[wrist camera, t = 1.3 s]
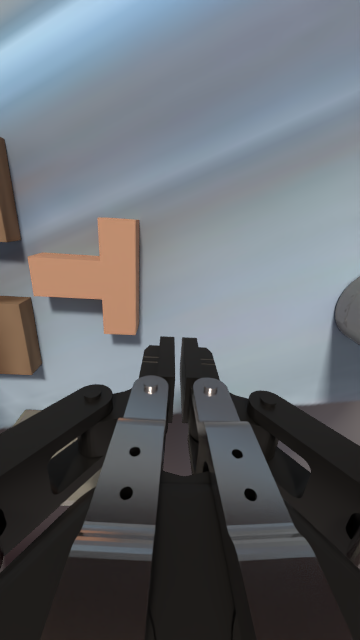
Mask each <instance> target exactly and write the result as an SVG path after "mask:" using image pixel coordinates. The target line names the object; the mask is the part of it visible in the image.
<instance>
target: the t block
mask: <svg viewBox="0 0 360 640" xmlns="http://www.w3.org/2000/svg"><path fill="white" fill-rule="evenodd" d="M98 233H99V251H100V256H88V255H72V254H56V253H39V254H36V255H32V256H28V262H29V268H30V274H31V280H32V287H33V293H34V296H46V297H65V298H84V299H102V305H103V323H104V334H123V335H136V332H137V329H138V326H139V220H132V219H118V218H98Z"/></svg>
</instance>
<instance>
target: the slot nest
mask: <svg viewBox="0 0 360 640" xmlns="http://www.w3.org/2000/svg"><path fill="white" fill-rule="evenodd" d="M18 240H21V236H20V231H19V225H18V219H17V213H16V207H15V201H14V195H13V189H12V183H11V177H10V171H9V165H8V159H7V153H6V147H5V141H4V139H3V138H1V137H0V242H11V241H18ZM41 364H42V361H41V355H40V349H39V343H38V337H37V331H36V325H35V320H34V314H33V308H32V302H31V297H13V296H0V374H19V375H32V374H33V373H34V372H35V371H36V370H37V369H38V368H39V366H40V365H41Z"/></svg>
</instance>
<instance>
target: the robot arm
mask: <svg viewBox="0 0 360 640" xmlns="http://www.w3.org/2000/svg"><path fill="white" fill-rule="evenodd" d="M335 320H336V324H337V326H338V328H339V330H340V331H341V332H342V333H343V334H344V335H345V336H347V337H348V338H350V339H351V340H353V341H354V342H356V343H357V344H359V345H360V277H358V278H357V279H356V280H354V281H353V282H352V283H351V284H350V285H349V286H348V287H347V288H346V289H345V290H344V292H343V293H342V295H341V296H340V298H339V300H338V303H337V306H336V310H335ZM174 386H175V346H174V337H162V336H160V346H154V345H149V346H148V347H147V348H146V349H145V350H144V355H143V360H142V365H141V370H140V375H139V379H137V380H136V381H135V382H134V384H133V387H132V388H131V389H130V390H127V391H125V392H120V393H115V394H112V391H111V389H110V388H108V387H107V386H104V385H98V384H95V385H89V386H85V387H83V388H81V389H79V390H77V391H76V392H74V393H72V394H70V395H68V396H67V397H65V398H63V399H61V400H60V401H58V402H56V403H54V404H52V405H51V406H49V407H47V408H45V409H44V410H42V411H40V412H38V413H36V414H35V415H33V416H31V417H29V418H28V419H26V420H24V421H22V422H20V423H19V424H17V425H15V426H13V427H12V428H10V429H8V430H6V431H5V432H3V433H1V434H0V569H1V567H2V564H3V558H4V556H5V555H6V554H7V553H9V552H10V551H11V550H12V549H13V548H14V547H15V546H16V545H17V544H18V543H20V542H21V541H22V540H23V539H24V538H25V537H26V536H27V535H28V534H30V533H31V532H32V531H33V530H34V529H35V528H36V527H37V526H38V525H39V524H40V523H41V522H43V521H44V520H45V519H46V518H47V517H48V516H49V515H50V514H51V513H53V512H54V511H55V510H56V509H57V508H58V507H59V506H60V505H61V504H62V503H64V502H65V501H66V500H67V499H68V498H69V497H70V496H71V495H72V494H73V493H74V492H76V491H77V490H78V489H79V488H80V487H81V486H82V485H83V484H84V483H85V482H87V481H88V480H89V479H90V478H91V477H92V476H93V475H94V474H95V473H96V472H98V471H99V470H100V469H101V468H102V469H101V472H100V476H99V479H98V482H97V485H96V487H94V488H93V489H91V490H89V491H88V492H86V493H85V494H84V495H82V496H81V497H80V498H79V499H77V500H76V501H75V502H74V503H73V504H72V505H71V506H70V507H69V508H68V509H67V510H66V511H65V512H64V513H63V514H62V515H61V516H59V517H58V518H57V519H56V520H55V521H54V522H53V523H52V524H51V525H50V526H49V527H48V528H47V529H46V530H45V531H44V532H43V533H42V534H41V535H40V536H38V538H36V539H35V540H34V541H33V542H32V543H31V544H30V545H29V546H28V547H27V548H26V549H25V550H24V551H23V552H22V553H21V554H20V555H19V556H18V557H16V558H15V559H14V560H13V561H12V562H11V563H10V564H9V565H8V566H7V567H6V568H5V569H4V570H3V571H2V572H1V573H0V640H360V446H359V445H357V444H355V443H354V442H352V441H350V440H349V439H347V438H346V437H344V436H342V435H341V434H339V433H337V432H336V431H334V430H333V429H331V428H329V427H328V426H326V425H325V424H323V423H321V422H320V421H318V420H317V419H315V418H313V417H311V416H310V415H308V414H307V413H305V412H304V411H302V410H300V409H299V408H297V407H296V406H294V405H292V404H291V403H289V402H287V401H286V400H284V399H283V398H281V397H279V396H278V395H276V394H274V393H271V392H268V391H255V392H253V393H251V394H250V396H249V399H247V398H243V397H239V396H236V395H233V394H231V393H229V391H228V388H227V386H226V385H225V384H224V383H223V382H221V381H220V379H219V376H218V372H217V369H216V366H215V362H214V360H213V355H212V353H211V352H210V351H209V350H208V349H207V348H201V347H198V343H197V338H184V337H183V338H182V347H181V360H180V386H181V406H182V423H188V426H189V430H188V446H189V454H190V463H191V470H192V475H190V476H179V475H175V474H172V473H168V472H165V471H163V463H164V451H165V437H166V433H167V429H168V423H172V415H173V400H174ZM76 438H77V440H76V441H75V442H73V443H72V444H71V445H69V446H68V447H66V448H65V449H64V450H62V451H61V452H60V453H58V454H57V455H56V456H54V457H53V458H52V456H53V455H54V454H55V453H56V452H58V451H59V450H61V449H62V448H63V447H65V446H66V445H67V444H69V443H70V442H72V441H73V440H74V439H76ZM279 440H280V441H281V442H282V443H284V444H285V445H286V446H288V447H289V448H290V449H292V450H293V451H294V452H296V453H297V454H298V455H300V456H301V457H302V458H303V459H304V460H305V461H306V462H307V463H308V464H309V466H310V468H311V473H310V472H309V471H308V470H306V469H305V468H304V467H302V466H301V465H300V464H298V463H297V462H296V461H295V460H293V459H292V458H291V457H290V456H288V455H287V454H286V453H284V452H283V451H282V450H280V449H279V448H278V447H277V444H278V441H279Z"/></svg>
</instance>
